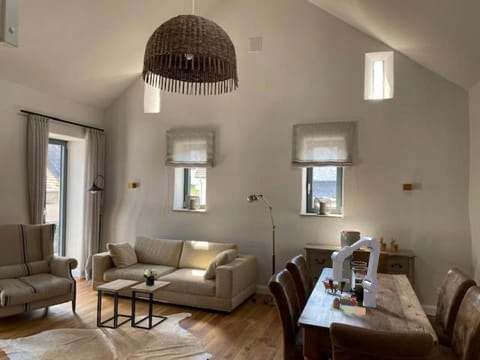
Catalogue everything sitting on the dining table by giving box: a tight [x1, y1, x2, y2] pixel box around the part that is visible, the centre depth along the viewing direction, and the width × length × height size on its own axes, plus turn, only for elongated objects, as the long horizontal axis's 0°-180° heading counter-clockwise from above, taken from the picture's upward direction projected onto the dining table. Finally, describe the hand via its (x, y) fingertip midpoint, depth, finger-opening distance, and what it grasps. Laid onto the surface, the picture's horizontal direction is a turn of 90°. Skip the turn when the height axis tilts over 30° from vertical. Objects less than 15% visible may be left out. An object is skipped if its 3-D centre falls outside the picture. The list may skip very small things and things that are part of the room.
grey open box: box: [338, 295, 358, 307], centre depth 238 cm, size 7×11×4 cm, turn 70°
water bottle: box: [337, 253, 355, 292], centre depth 269 cm, size 10×10×28 cm
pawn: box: [332, 297, 341, 309], centre depth 228 cm, size 4×4×6 cm
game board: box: [329, 303, 367, 316], centre depth 226 cm, size 15×21×1 cm
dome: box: [341, 293, 350, 300], centre depth 238 cm, size 5×5×5 cm
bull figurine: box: [321, 279, 339, 295], centre depth 261 cm, size 4×13×8 cm, turn 45°
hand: (336, 293), depth 228 cm, fingers open, 5 cm apart
